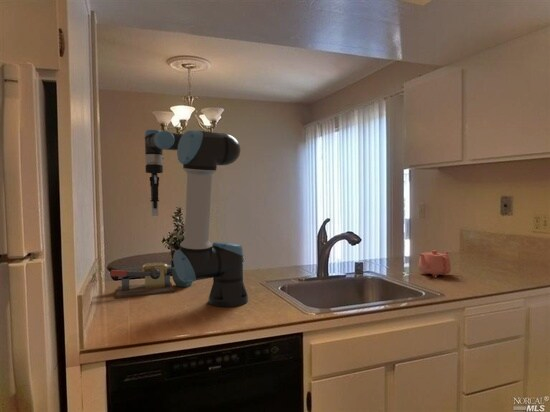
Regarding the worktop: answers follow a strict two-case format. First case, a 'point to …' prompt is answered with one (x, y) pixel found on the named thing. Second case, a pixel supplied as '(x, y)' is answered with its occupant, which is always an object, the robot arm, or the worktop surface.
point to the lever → (136, 273)
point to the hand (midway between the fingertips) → (155, 215)
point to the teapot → (434, 263)
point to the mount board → (142, 291)
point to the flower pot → (178, 280)
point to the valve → (149, 282)
